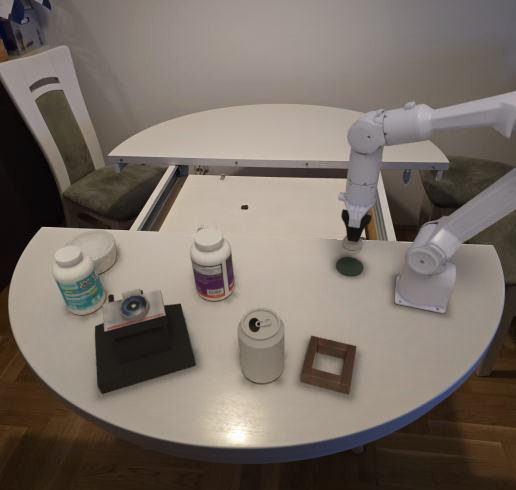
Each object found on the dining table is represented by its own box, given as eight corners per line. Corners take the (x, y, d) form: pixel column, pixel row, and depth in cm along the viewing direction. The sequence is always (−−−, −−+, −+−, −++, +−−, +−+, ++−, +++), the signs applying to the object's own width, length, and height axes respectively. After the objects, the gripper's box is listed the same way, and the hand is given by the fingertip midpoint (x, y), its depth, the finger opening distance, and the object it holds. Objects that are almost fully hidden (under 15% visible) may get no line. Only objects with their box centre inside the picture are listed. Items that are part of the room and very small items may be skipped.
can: (240, 350, 73) (235, 305, 66) (281, 346, 73) (281, 301, 66) (242, 388, 67) (237, 343, 60) (286, 383, 67) (287, 339, 60)
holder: (354, 354, 72) (356, 345, 70) (348, 394, 66) (350, 386, 64) (310, 343, 74) (311, 335, 72) (300, 382, 68) (301, 373, 66)
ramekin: (92, 286, 87) (85, 268, 84) (59, 268, 92) (51, 251, 88) (130, 256, 94) (125, 239, 91) (98, 241, 99) (92, 224, 96)
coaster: (364, 260, 91) (364, 259, 90) (361, 278, 86) (361, 277, 86) (337, 255, 92) (338, 254, 92) (333, 273, 88) (333, 272, 88)
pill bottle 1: (71, 322, 79) (47, 272, 71) (66, 297, 84) (43, 248, 76) (109, 308, 82) (91, 258, 73) (103, 285, 87) (84, 236, 79)
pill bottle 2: (218, 270, 90) (211, 217, 81) (242, 288, 85) (238, 235, 76) (189, 289, 85) (178, 236, 76) (213, 309, 81) (205, 255, 72)
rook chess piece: (362, 256, 83) (367, 225, 78) (340, 253, 84) (344, 223, 79) (362, 242, 87) (367, 212, 82) (341, 240, 88) (345, 210, 83)
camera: (77, 351, 58) (76, 276, 68) (103, 396, 68) (99, 324, 78) (186, 321, 61) (169, 254, 72) (196, 368, 71) (180, 303, 82)
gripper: (346, 157, 81) (340, 212, 90) (334, 195, 71) (328, 253, 79) (382, 161, 80) (372, 217, 88) (376, 200, 69) (365, 260, 77)
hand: (354, 234), depth 83 cm, fingers closed on rook chess piece, 3 cm apart
